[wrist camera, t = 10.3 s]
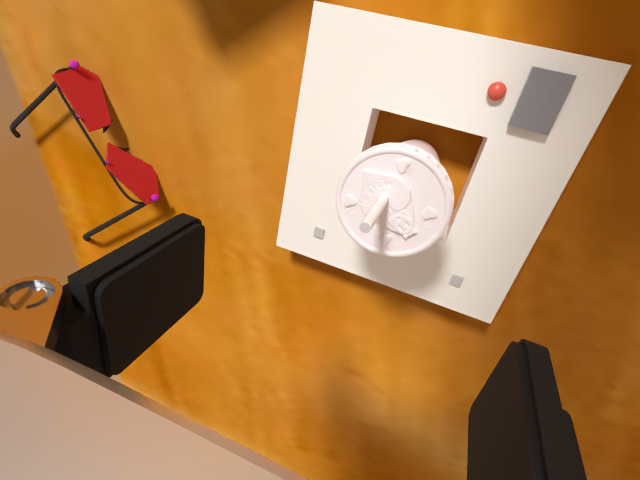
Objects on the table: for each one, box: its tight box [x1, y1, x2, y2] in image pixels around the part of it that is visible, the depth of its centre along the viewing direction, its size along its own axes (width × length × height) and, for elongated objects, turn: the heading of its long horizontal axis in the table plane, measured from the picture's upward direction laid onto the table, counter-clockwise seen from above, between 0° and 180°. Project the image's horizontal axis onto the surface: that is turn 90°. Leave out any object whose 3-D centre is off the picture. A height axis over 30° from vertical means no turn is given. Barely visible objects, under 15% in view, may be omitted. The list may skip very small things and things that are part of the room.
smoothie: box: [335, 139, 454, 257], centre depth 22 cm, size 6×6×14 cm
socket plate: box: [276, 1, 631, 324], centre depth 27 cm, size 18×18×4 cm
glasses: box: [10, 60, 160, 241], centre depth 38 cm, size 14×16×5 cm
